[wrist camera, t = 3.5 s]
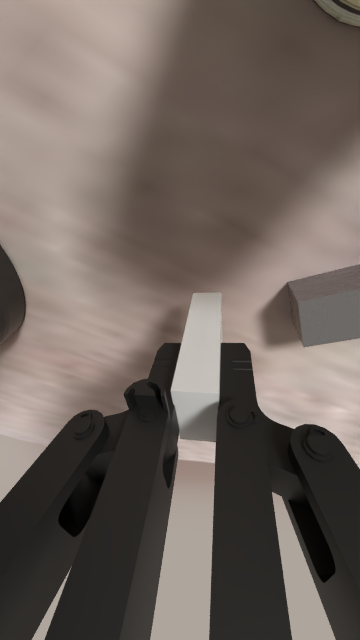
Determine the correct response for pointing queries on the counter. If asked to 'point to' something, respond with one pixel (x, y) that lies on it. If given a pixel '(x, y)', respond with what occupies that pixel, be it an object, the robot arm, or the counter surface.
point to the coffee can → (342, 10)
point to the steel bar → (327, 306)
